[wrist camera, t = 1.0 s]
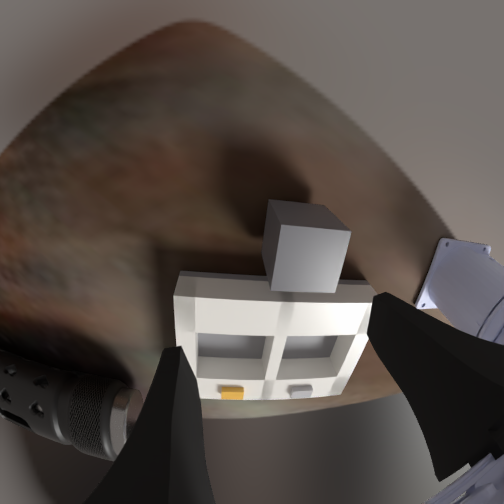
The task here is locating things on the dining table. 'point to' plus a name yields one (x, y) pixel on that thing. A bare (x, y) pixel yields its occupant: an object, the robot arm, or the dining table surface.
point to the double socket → (269, 336)
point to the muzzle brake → (68, 405)
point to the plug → (303, 247)
